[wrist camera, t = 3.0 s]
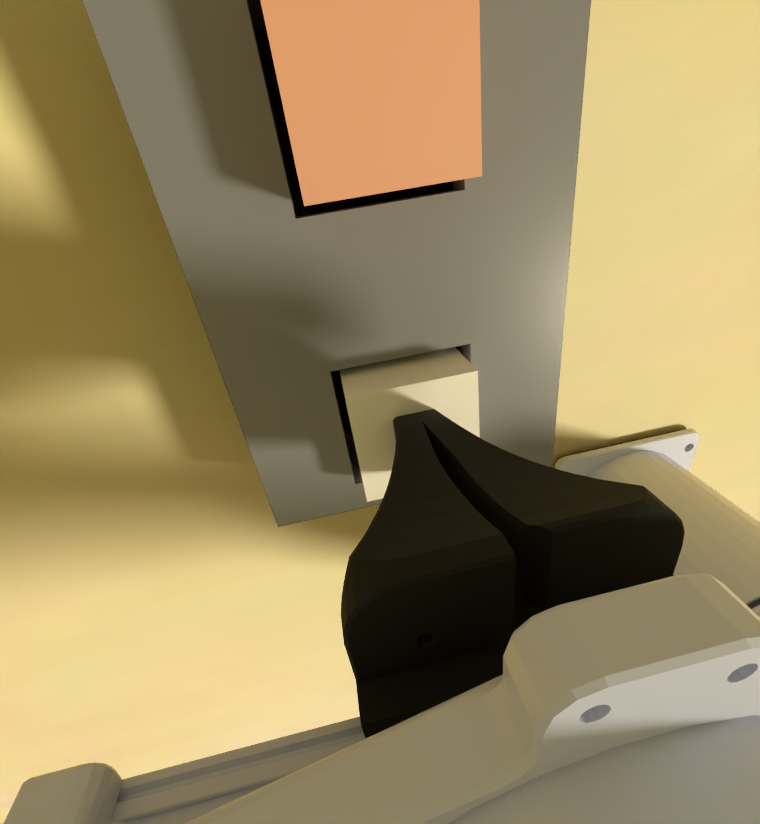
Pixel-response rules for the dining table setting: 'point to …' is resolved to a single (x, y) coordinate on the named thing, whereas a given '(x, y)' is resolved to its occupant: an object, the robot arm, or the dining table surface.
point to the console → (357, 235)
